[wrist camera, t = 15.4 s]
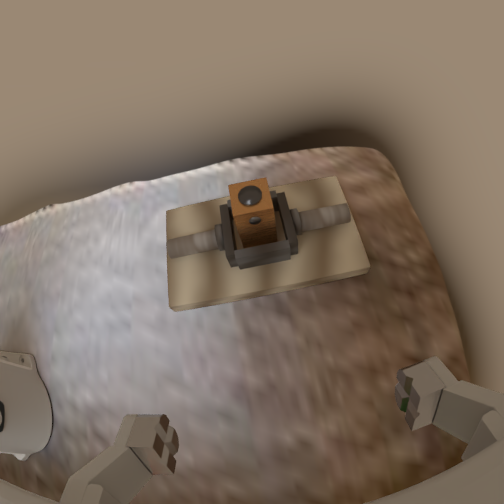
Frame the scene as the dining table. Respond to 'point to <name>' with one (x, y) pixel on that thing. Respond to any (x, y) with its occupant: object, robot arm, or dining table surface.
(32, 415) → the robot arm
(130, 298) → the dining table surface
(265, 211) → the block
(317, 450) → the dining table surface
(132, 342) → the dining table surface
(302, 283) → the base
